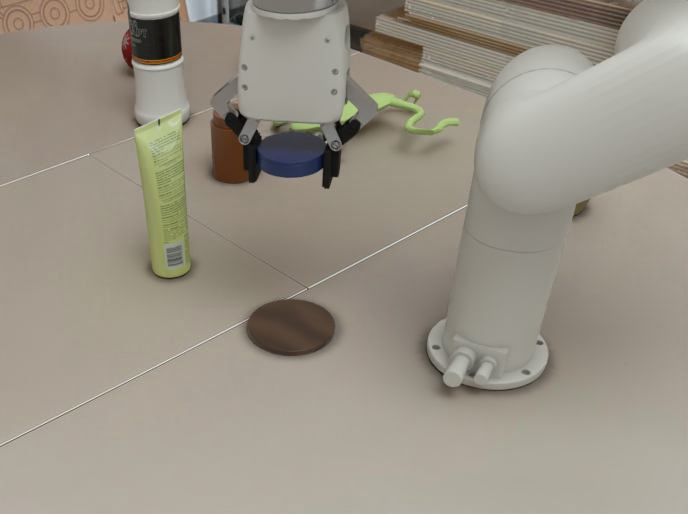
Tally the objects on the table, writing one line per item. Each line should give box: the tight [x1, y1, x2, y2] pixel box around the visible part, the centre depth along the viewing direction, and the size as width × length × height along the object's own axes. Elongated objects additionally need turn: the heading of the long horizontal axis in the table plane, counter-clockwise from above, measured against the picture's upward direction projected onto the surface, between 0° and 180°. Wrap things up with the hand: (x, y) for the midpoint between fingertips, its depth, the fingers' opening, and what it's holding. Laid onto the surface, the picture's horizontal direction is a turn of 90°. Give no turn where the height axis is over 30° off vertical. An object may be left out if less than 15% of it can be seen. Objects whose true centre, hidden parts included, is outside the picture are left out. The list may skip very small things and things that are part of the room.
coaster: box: [247, 298, 336, 356], centre depth 94 cm, size 10×10×1 cm
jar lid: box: [257, 131, 326, 179], centre depth 81 cm, size 7×7×2 cm
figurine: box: [272, 88, 460, 144], centre depth 127 cm, size 18×27×6 cm
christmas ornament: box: [121, 28, 133, 70], centre depth 150 cm, size 9×9×10 cm
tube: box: [133, 108, 192, 279], centre depth 98 cm, size 6×5×20 cm
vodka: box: [125, 0, 191, 126], centre depth 128 cm, size 9×9×30 cm
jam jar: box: [209, 102, 249, 184], centre depth 120 cm, size 6×6×9 cm
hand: (291, 178), depth 83 cm, fingers closed on jar lid, 6 cm apart
